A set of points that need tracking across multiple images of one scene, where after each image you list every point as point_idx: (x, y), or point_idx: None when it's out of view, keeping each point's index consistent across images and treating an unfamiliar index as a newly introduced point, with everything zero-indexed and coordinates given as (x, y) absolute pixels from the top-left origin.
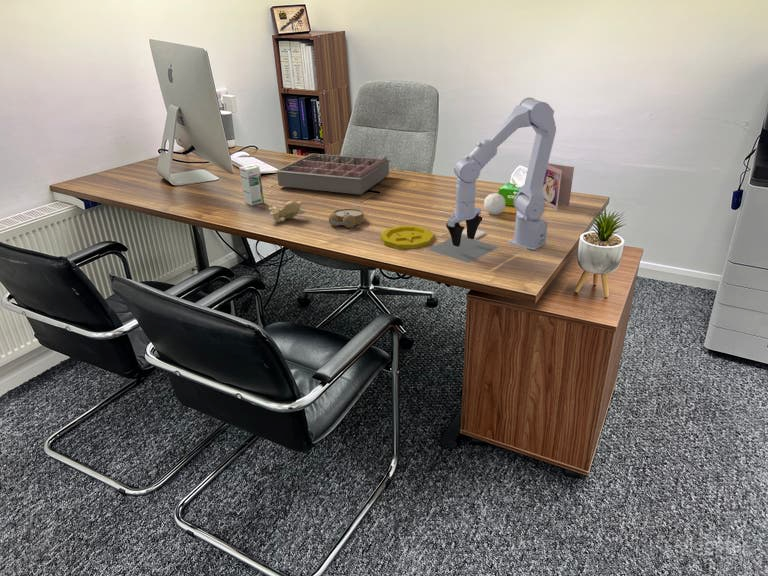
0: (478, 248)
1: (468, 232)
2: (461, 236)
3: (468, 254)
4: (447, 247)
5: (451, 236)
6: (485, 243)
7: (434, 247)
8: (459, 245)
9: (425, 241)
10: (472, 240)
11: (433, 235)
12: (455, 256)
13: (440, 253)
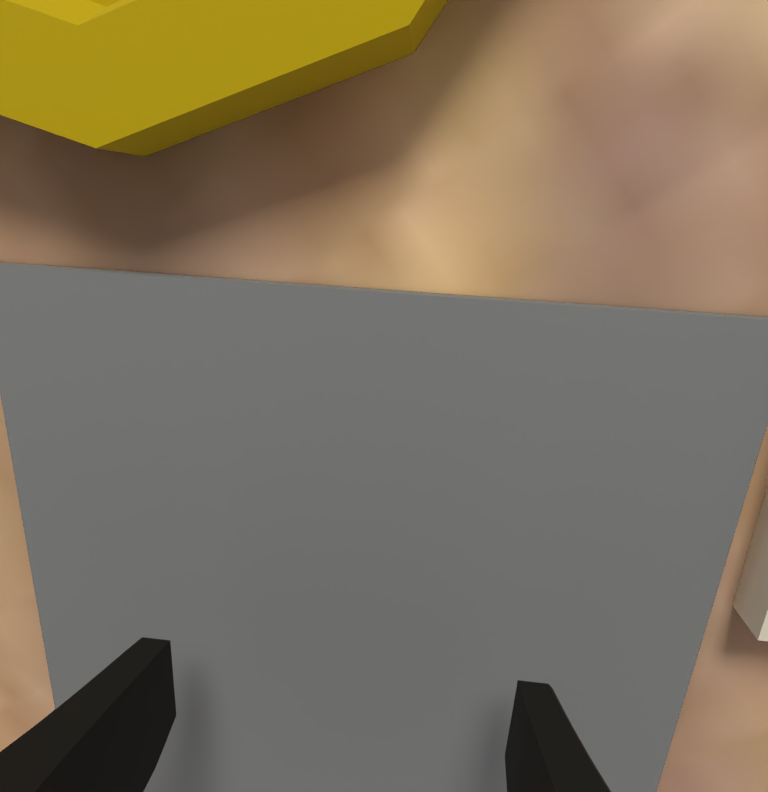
0: (457, 754)
1: (535, 782)
2: (750, 409)
3: (236, 738)
4: (235, 461)
5: (6, 759)
6: (650, 761)
7: (107, 309)
8: (166, 727)
9: (28, 112)
10: (668, 606)
11: (373, 38)
12: (93, 659)
13: (19, 490)
